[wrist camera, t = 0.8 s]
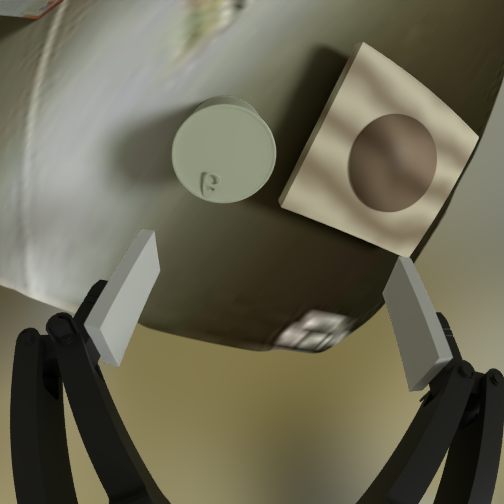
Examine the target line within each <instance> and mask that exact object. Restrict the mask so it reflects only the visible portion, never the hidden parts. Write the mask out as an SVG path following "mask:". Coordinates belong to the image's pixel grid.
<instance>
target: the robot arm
mask: <svg viewBox="0 0 504 504" xmlns="http://www.w3.org/2000/svg"><path fill="white" fill-rule="evenodd" d="M159 272H160V267H159V260H158V254H157V247H156V240H155V232H154V231H153V230H142V229H141V231H140V232H139V234H138V235H137V237H136V238H135V240H134V241H133V243H132V244H131V246H130V247H129V249H128V250H127V252H126V253H125V255H124V257H123V258H122V260H121V261H120V263H119V265H118V266H117V268H116V269H115V271H114V273H113V274H112V276H111V278H110V279H109V281H106V280H99V281H98V282H97V283H95V284H94V285H93V286H92V287H91V289H90V291H89V292H88V294H87V296H86V297H85V299H84V302H82V304H81V306H80V307H79V309H78V311H77V312H76V314H75V316H74V318H72V316H71V315H70V314H68V313H64V312H62V313H57V314H55V315H53V316H52V317H51V318H50V319H49V320H48V322H47V324H46V331H47V333H48V334H49V335H40V334H39V332H38V331H37V330H36V329H35V328H27V329H24V330H23V331H22V332H21V333H20V334H19V335H18V337H17V340H16V346H15V355H14V363H13V372H12V384H11V405H10V439H11V457H12V468H13V477H14V485H15V492H16V498H17V504H78V501H77V497H76V492H75V488H74V483H73V478H72V472H71V467H70V460H69V454H68V447H67V439H66V429H65V418H64V404H63V383H64V387H65V390H66V393H67V397H68V400H69V404H70V407H71V409H72V412H73V416H74V419H75V421H76V424H77V427H78V430H79V433H80V435H81V438H82V440H83V443H84V445H85V448H86V450H87V453H88V455H89V457H90V460H91V462H92V464H93V466H94V469H95V471H96V473H97V475H98V477H99V479H100V481H101V483H102V485H103V487H104V489H105V491H106V493H107V495H108V497H109V504H171V503H170V502H169V501H168V499H167V498H166V497H165V496H164V495H163V493H162V492H161V491H160V489H159V488H158V486H157V484H156V483H155V481H154V479H153V478H152V476H151V474H150V473H149V471H148V469H147V468H146V466H145V464H144V462H143V460H142V459H141V457H140V455H139V453H138V452H137V449H136V448H135V446H134V444H133V442H132V440H131V438H130V436H129V434H128V432H127V430H126V428H125V426H124V424H123V422H122V420H121V417H120V415H119V413H118V411H117V409H116V406H115V404H114V402H113V400H112V397H111V395H110V393H109V390H108V388H107V385H106V383H105V380H104V378H103V375H102V372H101V370H100V367H99V365H98V360H99V358H100V357H101V358H102V360H103V362H104V363H106V364H109V365H113V366H117V367H119V365H120V363H121V360H122V358H123V355H124V353H125V350H126V348H127V345H128V343H129V340H130V338H131V335H132V333H133V331H134V328H135V326H136V324H137V321H138V319H139V317H140V314H141V312H142V310H143V307H144V305H145V303H146V301H147V298H148V296H149V294H150V292H151V289H152V287H153V285H154V283H155V281H156V279H157V276H158V274H159ZM383 296H384V299H385V302H386V305H387V309H388V312H389V315H390V319H391V321H392V325H393V329H394V332H395V335H396V339H397V343H398V347H399V351H400V354H401V358H402V362H403V366H404V370H405V374H406V379H407V383H408V387H409V391H420V390H423V389H424V388H425V387H426V386H427V385H428V384H429V387H430V390H429V391H428V392H427V393H426V394H425V395H424V396H423V397H422V398H421V399H420V402H421V401H422V400H424V401H423V402H422V404H421V406H420V408H419V410H418V412H417V414H416V416H415V417H414V419H413V421H412V423H411V424H410V426H409V428H408V430H407V431H406V433H405V435H404V436H403V438H402V440H401V441H400V443H399V444H398V446H397V448H396V449H395V451H394V452H393V454H392V456H391V457H390V459H389V460H388V462H387V463H386V464H385V466H384V467H383V469H382V470H381V472H380V473H379V475H378V476H377V477H376V478H375V480H374V481H373V483H372V484H371V485H370V487H369V488H368V489H367V491H366V492H365V493H364V494H363V496H362V497H361V498H360V499H359V501H358V502H357V503H356V504H418V503H419V502H420V500H421V499H422V497H423V495H424V494H425V492H426V490H427V488H428V487H429V485H430V483H431V481H432V479H433V478H434V476H435V474H436V472H437V470H438V468H439V466H440V464H441V462H442V460H443V458H444V456H445V454H446V452H447V450H448V448H449V451H448V455H447V459H446V463H445V467H444V471H443V474H442V478H441V481H440V484H439V488H438V491H437V494H436V497H435V500H434V503H433V504H491V501H492V496H493V493H494V488H495V483H496V478H497V473H498V467H499V461H500V454H501V447H502V438H503V426H504V377H503V375H502V373H501V372H500V371H499V370H497V369H494V368H493V369H490V370H489V371H488V372H487V373H486V374H483V373H479V372H476V371H474V368H473V367H472V365H471V364H470V363H469V362H467V361H465V360H462V357H461V354H460V352H459V349H458V346H457V344H456V341H455V339H454V337H453V334H452V331H451V330H450V326H449V324H448V322H447V320H446V319H445V317H444V316H443V315H442V314H441V313H440V312H435V310H434V308H433V305H432V303H431V301H430V298H429V296H428V294H427V292H426V289H425V287H424V285H423V283H422V281H421V279H420V277H419V275H418V272H417V270H416V268H415V266H414V264H413V262H412V260H411V258H406V257H399V258H398V260H397V262H396V265H395V267H394V269H393V271H392V274H391V276H390V278H389V280H388V283H387V285H386V287H385V289H384V291H383Z"/></svg>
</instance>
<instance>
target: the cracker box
mask: <svg viewBox="0 0 504 504" xmlns="http://www.w3.org/2000/svg"><path fill="white" fill-rule="evenodd" d="M61 1H63V0H0V15H3V16H14V17H23V18H30V19H39V18H40V17H41V16H43V15H44V14H45V13H46V12H48V11H49V10H50V9H52V8H53V7H54V6H56V5H57V4H58V3H60V2H61Z"/></svg>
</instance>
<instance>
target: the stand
mask: <svg viewBox="0 0 504 504" xmlns="http://www.w3.org/2000/svg"><path fill="white" fill-rule="evenodd" d="M478 138H479V137H478V136H477V135H476V134H475V133H474V131H473V130H472V129H471V128H470V127H469V126H468V125H467V124H466V123H465V122H464V121H463V120H462V119H461V118H460V117H459V116H458V115H457V114H456V113H454V112H453V111H452V110H451V109H450V108H449V107H448V106H447V105H446V104H445V103H444V102H443V101H441V100H440V99H439V98H438V97H437V96H436V95H435V94H433V93H432V92H431V91H430V90H429V89H427V88H426V87H425V86H424V85H423V84H421V83H420V82H419V81H418V80H416V79H415V78H414V77H413V76H411V75H410V74H409V73H407V72H406V71H405V70H403V69H402V68H401V67H399V66H398V65H397V64H395V63H394V62H392V61H391V60H390V59H388V58H387V57H385V56H384V55H382V54H381V53H379V52H378V51H376V50H375V49H373V48H372V47H370V46H369V45H367V44H365V43H364V42H361V43H356V44H355V46H354V48H353V50H352V52H351V54H350V56H349V59H348V61H347V63H346V65H345V67H344V69H343V71H342V73H341V75H340V77H339V79H338V81H337V83H336V85H335V87H334V89H333V91H332V93H331V95H330V97H329V99H328V101H327V103H326V105H325V107H324V109H323V111H322V113H321V115H320V117H319V119H318V121H317V123H316V125H315V127H314V129H313V131H312V133H311V135H310V137H309V139H308V141H307V143H306V145H305V147H304V149H303V151H302V153H301V155H300V157H299V159H298V161H297V163H296V165H295V168H294V170H293V172H292V174H291V176H290V178H289V180H288V182H287V184H286V186H285V188H284V190H283V192H282V194H281V196H280V198H279V200H278V201H279V204H280V206H281V207H282V208H285V209H287V210H290V211H293V212H295V213H298V214H301V215H303V216H306V217H308V218H311V219H313V220H316V221H319V222H321V223H324V224H326V225H329V226H331V227H334V228H336V229H339V230H341V231H344V232H346V233H348V234H351V235H353V236H356V237H358V238H361V239H363V240H365V241H368V242H370V243H372V244H375V245H377V246H379V247H382V248H384V249H386V250H389V251H391V252H393V253H396V254H398V255H400V256H402V257H406V258H409V256H410V255H411V253H412V252H413V251H414V249H415V248H416V246H417V245H418V243H419V242H420V240H421V239H422V237H423V236H424V234H425V233H426V231H427V230H428V228H429V226H430V225H431V223H432V222H433V220H434V218H435V217H436V215H437V214H438V212H439V210H440V209H441V207H442V205H443V204H444V202H445V200H446V199H447V197H448V195H449V194H450V192H451V190H452V188H453V186H454V185H455V183H456V181H457V179H458V177H459V176H460V174H461V172H462V170H463V168H464V166H465V164H466V162H467V161H468V159H469V157H470V155H471V153H472V151H473V149H474V147H475V145H476V143H477V140H478Z"/></svg>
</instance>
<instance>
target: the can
mask: <svg viewBox="0 0 504 504" xmlns="http://www.w3.org/2000/svg"><path fill="white" fill-rule="evenodd" d="M171 159H172V165H173V169H174V171H175V174H176V176H177V178H178V179H179V181H180V182H181V184H182V185H183V186H184V187H185V188H186V189H187V190H188V191H189V192H191V193H192V194H193V195H195V196H197V197H199V198H201V199H203V200H206V201H210V202H215V203H231V202H236V201H240V200H243V199H245V198H247V197H249V196H251V195H253V194H254V193H256V192H257V191H258V190H259V189H260V188H261V187H262V186H263V185H264V184H265V183H266V182H267V180H268V179H269V177H270V175H271V173H272V171H273V169H274V165H275V161H276V145H275V141H274V137H273V135H272V132H271V130H270V129H269V127H268V126H267V124H266V123H265V122H264V121H263V120H262V119H261V118H260V117H259V115H258V113H257V112H256V110H255V109H254V108H253V107H252V106H251V105H250V104H249V103H247V102H246V101H244V100H242V99H240V98H237V97H233V96H218V97H214V98H211V99H209V100H206V101H205V102H203V103H202V104H200V105H199V106H198V107H197V108H196V109H195V110H194V112H193V113H192V115H190V116H189V117H188V118H187V119H186V120H185V121H184V122H183V123H182V124H181V126H180V127H179V129H178V130H177V132H176V134H175V137H174V140H173V143H172V149H171Z"/></svg>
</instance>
